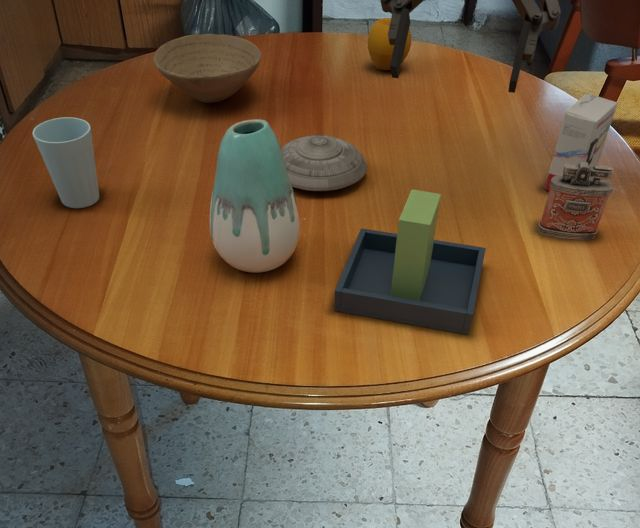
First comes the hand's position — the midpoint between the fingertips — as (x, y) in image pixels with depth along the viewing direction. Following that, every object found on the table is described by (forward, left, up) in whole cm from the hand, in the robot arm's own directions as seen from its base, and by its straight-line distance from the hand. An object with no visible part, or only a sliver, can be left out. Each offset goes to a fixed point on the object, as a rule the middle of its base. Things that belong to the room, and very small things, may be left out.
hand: (452, 80), depth 77 cm
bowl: (+46, -35, -22) cm, 62 cm away
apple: (+18, -58, -22) cm, 65 cm away
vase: (+22, +10, -22) cm, 32 cm away
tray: (+1, +11, -22) cm, 24 cm away
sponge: (+1, +11, -21) cm, 24 cm away
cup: (+52, +3, -22) cm, 56 cm away
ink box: (-18, -22, -22) cm, 36 cm away
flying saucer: (+20, -14, -22) cm, 33 cm away
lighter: (-18, -8, -22) cm, 30 cm away
